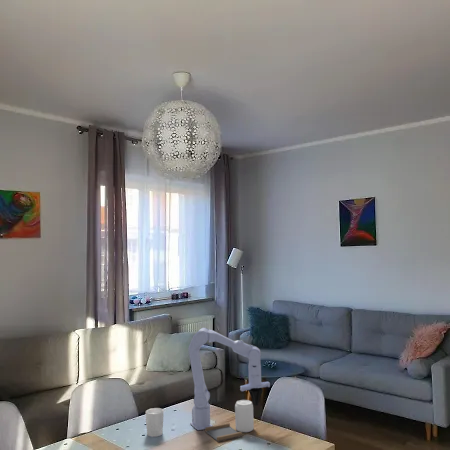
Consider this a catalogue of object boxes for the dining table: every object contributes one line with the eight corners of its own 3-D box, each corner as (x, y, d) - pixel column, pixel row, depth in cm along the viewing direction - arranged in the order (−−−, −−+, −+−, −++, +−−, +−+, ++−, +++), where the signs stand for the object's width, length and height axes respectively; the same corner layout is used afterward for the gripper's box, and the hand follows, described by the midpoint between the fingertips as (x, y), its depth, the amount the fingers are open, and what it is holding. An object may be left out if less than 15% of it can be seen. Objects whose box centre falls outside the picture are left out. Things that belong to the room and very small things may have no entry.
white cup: (167, 432, 205) (166, 409, 206) (157, 438, 198) (157, 414, 198) (152, 429, 208) (152, 407, 209) (142, 436, 201) (142, 412, 202)
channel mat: (205, 431, 204) (205, 427, 204) (228, 426, 209) (228, 422, 210) (217, 442, 193) (217, 437, 193) (242, 436, 198) (242, 432, 198)
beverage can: (252, 433, 201) (251, 405, 202) (234, 432, 202) (233, 404, 203) (254, 426, 209) (254, 399, 210) (237, 426, 210) (236, 399, 211)
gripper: (245, 378, 203) (245, 410, 202) (273, 374, 209) (273, 404, 208) (237, 375, 209) (238, 405, 208) (265, 370, 216) (265, 400, 215)
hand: (255, 404), depth 209 cm, fingers closed
